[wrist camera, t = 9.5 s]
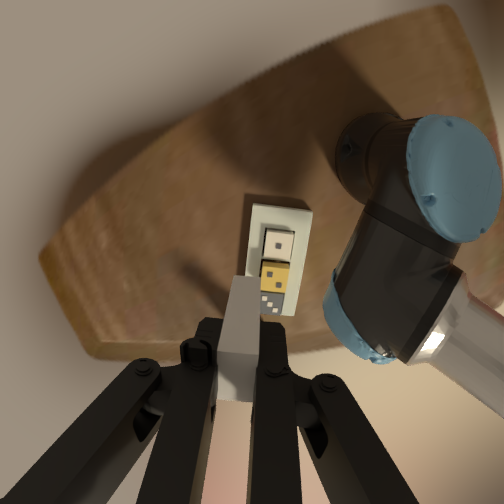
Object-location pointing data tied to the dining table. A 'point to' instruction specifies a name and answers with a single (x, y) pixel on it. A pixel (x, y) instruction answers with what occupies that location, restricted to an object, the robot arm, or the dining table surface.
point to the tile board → (301, 226)
